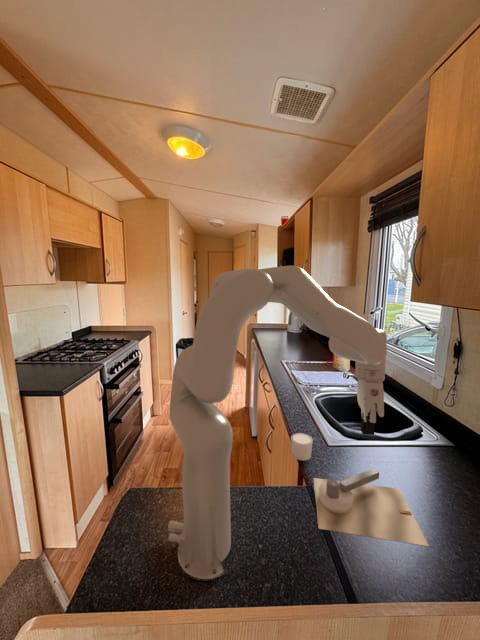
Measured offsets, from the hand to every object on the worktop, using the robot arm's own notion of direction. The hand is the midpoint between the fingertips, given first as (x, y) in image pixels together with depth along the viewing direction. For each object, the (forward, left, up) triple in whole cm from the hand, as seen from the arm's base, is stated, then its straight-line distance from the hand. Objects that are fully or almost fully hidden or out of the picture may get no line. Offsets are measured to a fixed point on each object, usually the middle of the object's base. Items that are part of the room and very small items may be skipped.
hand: (367, 433), depth 78 cm
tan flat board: (-4, -15, -12) cm, 20 cm away
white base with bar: (-7, -12, -11) cm, 17 cm away
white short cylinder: (-18, +3, -13) cm, 22 cm away
